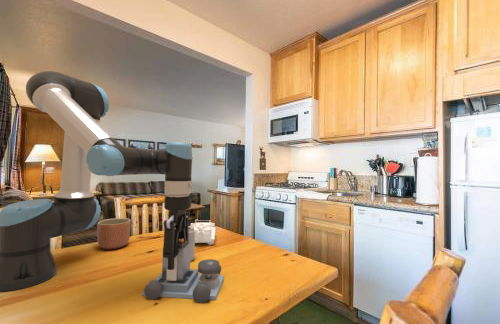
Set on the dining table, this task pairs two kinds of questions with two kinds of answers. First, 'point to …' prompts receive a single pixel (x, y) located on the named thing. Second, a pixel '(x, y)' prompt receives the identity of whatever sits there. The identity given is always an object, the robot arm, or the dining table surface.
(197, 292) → the chassis
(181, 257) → the twin lamp box
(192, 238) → the beverage can
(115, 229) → the planter
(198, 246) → the dining table surface
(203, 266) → the spare wheel
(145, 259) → the dining table surface
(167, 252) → the robot arm
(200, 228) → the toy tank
